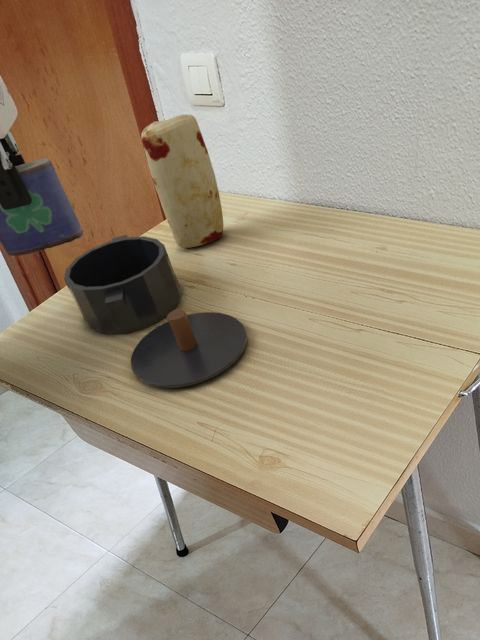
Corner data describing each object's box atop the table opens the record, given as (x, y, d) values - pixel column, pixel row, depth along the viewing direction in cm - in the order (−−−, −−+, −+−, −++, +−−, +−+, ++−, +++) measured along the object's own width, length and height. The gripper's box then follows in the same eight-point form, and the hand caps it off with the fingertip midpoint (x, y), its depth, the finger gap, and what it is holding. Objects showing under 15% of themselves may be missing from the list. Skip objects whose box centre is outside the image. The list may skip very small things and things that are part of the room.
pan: (81, 355, 82) (56, 310, 77) (91, 285, 97) (71, 243, 91) (183, 329, 83) (165, 282, 78) (178, 263, 97) (163, 220, 92)
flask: (84, 229, 72) (42, 138, 65) (84, 239, 70) (40, 146, 63) (9, 250, 71) (-43, 160, 64) (7, 261, 69) (-47, 169, 62)
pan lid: (132, 404, 73) (112, 366, 68) (134, 335, 84) (117, 298, 80) (255, 372, 73) (243, 332, 69) (241, 308, 84) (230, 270, 80)
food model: (183, 258, 98) (139, 132, 84) (171, 244, 103) (128, 122, 89) (236, 238, 101) (202, 112, 87) (223, 225, 105) (188, 103, 91)
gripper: (-61, 10, 48) (44, 222, 61) (-19, -15, 60) (62, 167, 73) (-153, 29, 48) (-28, 238, 61) (-92, 1, 60) (2, 180, 73)
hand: (20, 198), depth 67 cm, fingers closed on flask, 3 cm apart
